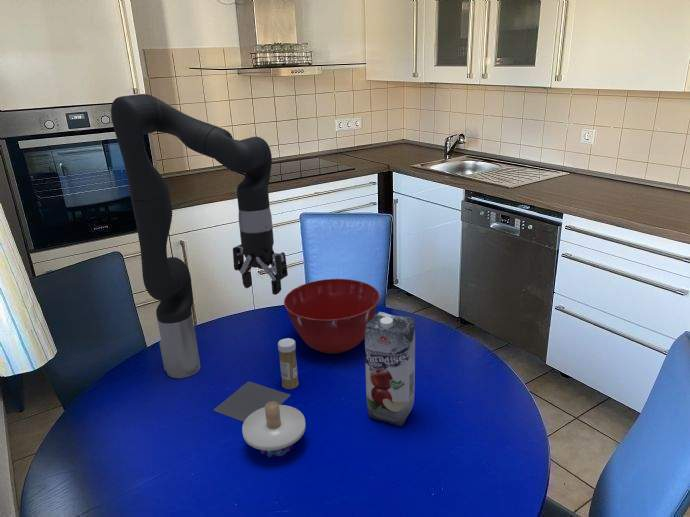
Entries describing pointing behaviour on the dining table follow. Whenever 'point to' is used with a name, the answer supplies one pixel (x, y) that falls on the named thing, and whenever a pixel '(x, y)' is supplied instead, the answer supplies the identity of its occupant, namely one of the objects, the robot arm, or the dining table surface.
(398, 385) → the juice carton
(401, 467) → the dining table surface
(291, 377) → the sprinkles bottle
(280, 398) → the mat
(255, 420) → the lid
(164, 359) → the robot arm
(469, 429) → the dining table surface
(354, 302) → the mixing bowl
